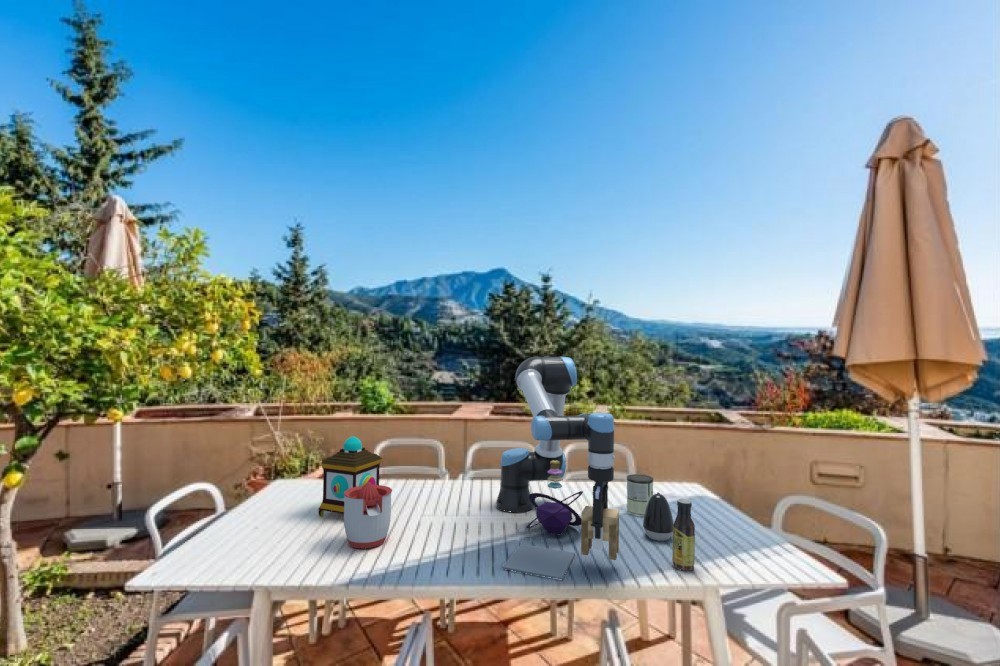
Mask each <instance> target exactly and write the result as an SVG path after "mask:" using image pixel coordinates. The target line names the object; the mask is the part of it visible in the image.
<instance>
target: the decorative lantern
mask: <svg viewBox="0 0 1000 666" xmlns="http://www.w3.org/2000/svg"><path fill="white" fill-rule="evenodd" d="M362 445H363V444H362V441H361V440H360V439H359V438H358V437H357V436H350V437H348V438H347V439H346V440H345V441H344V443H343V447H342V448H340V449H339V451H338V452H336V453H335V454H333V455H331V456H328V457H326V458H325V459H324V460H322V461H321V462H320V466H321V467H322V470H323V477H322V478H323V480H322V481H323V482H322V483H323V486H322V487H323V488H322V501H321V503H320V505H319V508H318V516H319V517H320V518H322V517H323V516H324V513H325V512H331V513H336V514H342V515H344V498H345V495H344V492H345V491H346V490H348V489H350V488H353V487H357V486H363V485H365V484H366V483H367V482H370V483H371V484H372V485H380V465H381V462H382V461H383V457H381V455H378V454H377V453H374V452H373V453H372V452H370V451H369V450H368V449H366V448H365V447H363V446H362Z"/></svg>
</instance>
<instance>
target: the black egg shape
mask: <svg viewBox="0 0 1000 666" xmlns="http://www.w3.org/2000/svg"><path fill="white" fill-rule="evenodd" d="M642 522H643V523H642V526H643V529H644V531H645V534H646V535H647V536H648V537H649V538H650V539H651V540H654V541H656V540H657V542H664V541H668V540H669V539H671V538H672V537H673V525H674V518H673V513H672V510H671V507H670V504H669V502H668V500H667V498H666V497H665V495H663V494H661V493H660V491H658V492H657V493H653V495H652V496H651V498H650V499H649V501H648V504H647V507H646V510H645V514H644V517H643V519H642Z"/></svg>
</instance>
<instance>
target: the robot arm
mask: <svg viewBox="0 0 1000 666" xmlns="http://www.w3.org/2000/svg"><path fill="white" fill-rule="evenodd" d="M577 381H578V376H577V369H576V364H575V361H574V360H573V359H572V358H571V357H569V356H568V357H566V356H533V357H532V356H531V357H529V358H527V359H525V360H524V361H522V362H521V363H520V364H519V366H518V367H517V369H516V372H515V383H516V385H517V387H518V389H519V390H520V391H521V392H523V395H524V398H525V400H526V401H527V405H528V407H529V409H530V412H531V414H532V417H533V418H532V419H531V422H530V431H531V436H532V438H533V439H534V440H535V441H539V442H538V443H537V444H536V445H535V446H534V451H530V450H529V449H528V448H526V447H523V448H521V447H517V448H511V449H507V450H505V451H503V452H502V454H501V457H500V489H499V492H498V494H497V495H498V496H497V498H496V501H495V502H496V503H495V504H496V505H495V507H496V506H497V507H498V508H499V509H501V510H505V511H511V512H520V513H524V512H523V511H526V512H529V511H531V510H532V509H533V508H534V506H533V504H532V503H531V502H530V500H529V495H530V494H531V491H530V488H529V486H530V482H536V481H537V482H539V481H540V482H541V481H542V482H543V481H549V480H548V477H550V476H551V475H553V474H549V473H548V471H549V470H550V469H551V464H550V461H552V460H554V461H556V460H558V461H559V462H560V465H559V470H561V471H562V472H563V473H562V474H558V475H554V476H560V477H561V478H562V479H563V477H564V476H565V473H566V470H567V463H566V462H567V457H566V453H565V452H564V451H563V449H562V447H561V446H560V445H561V441H574V440H575V441H576V440H577V441H580V440H582V441H583V440H585V441H587V443H588V444H587V446H588V447H587V449H588V450H587V464H588V467H587V478H588V479H589V480H590V481H594V485H593V487H592V507H593V517H592V524H591V526H593V539H592V549H594V550H600V551H603V550H604V541H603V525H602V522H603V508H605V509H606V508H607V509H609V503H608V502H609V500H608V499H609V498H608V497H609V495H608V494H609V493H608V491H609V485H608V484H609V482H612V481H613V480H614V479H615V478H614V477H615V472H614V471H615V470H614V467H613V466H614V463H615V461H614V460H616V459H617V457H616V455H614V454H615V453H614V451H615V450H614V449H615V420H614V415H612V414H611V413H606V412H593V413H581V414H579V415H564V411H565V403H566V396H567V395H569V394H570V392H571V387H572V388H574V387H575V386H576V385H577ZM497 507H496V508H497ZM498 508H497V509H498ZM499 509H498V510H499ZM530 509H531V510H530ZM501 510H500V511H501ZM528 510H529V511H528ZM505 511H504V512H505ZM511 512H510V513H511Z"/></svg>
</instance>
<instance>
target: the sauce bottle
mask: <svg viewBox="0 0 1000 666" xmlns="http://www.w3.org/2000/svg"><path fill="white" fill-rule="evenodd" d="M676 505H677V514H676V517H675V519H674V521H673V523H674V525H673V533H672V555H671V557H672V565H673V566H675V567H674V568H676V569H678V570H679V569H681V570H680V571H685V570H689V571H693V570H694V568H695V557H696V556H695V553H696V551H695V550H696V549H695V548H696V547H695V543H696V533H695V532H696V529H695V528H696V525H695V523H694V521H693V519H692V507H693V506H692V505H693V504H692V501H691V500H689V499H687V498H686V499H685V498H679V499H677V503H676ZM692 569H693V570H692Z"/></svg>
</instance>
